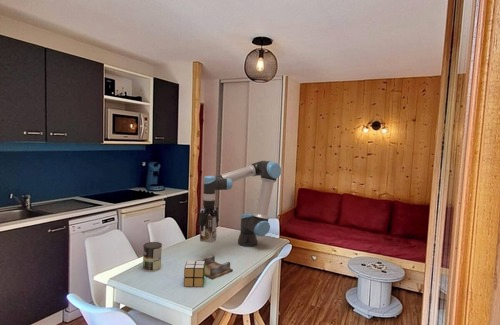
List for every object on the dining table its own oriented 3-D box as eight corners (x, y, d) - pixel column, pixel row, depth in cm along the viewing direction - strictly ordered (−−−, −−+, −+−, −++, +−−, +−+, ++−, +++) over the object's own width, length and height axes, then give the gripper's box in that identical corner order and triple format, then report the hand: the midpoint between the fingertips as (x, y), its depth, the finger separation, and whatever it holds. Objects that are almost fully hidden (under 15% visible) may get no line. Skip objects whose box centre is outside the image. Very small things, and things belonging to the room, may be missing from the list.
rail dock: (212, 262, 185) (212, 254, 184) (232, 271, 173) (233, 262, 172) (191, 269, 173) (192, 260, 172) (212, 279, 161) (212, 270, 160)
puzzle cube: (186, 278, 161) (186, 260, 161) (204, 278, 162) (205, 260, 161) (183, 287, 151) (184, 268, 151) (203, 287, 152) (204, 268, 151)
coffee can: (143, 272, 165) (143, 248, 164) (142, 265, 174) (142, 242, 174) (162, 270, 169) (162, 246, 168) (160, 263, 179) (160, 241, 178)
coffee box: (216, 240, 193) (217, 216, 192) (212, 243, 186) (212, 218, 185) (204, 238, 195) (204, 214, 195) (199, 241, 189) (200, 216, 188)
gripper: (217, 197, 200) (216, 229, 201) (192, 200, 184) (191, 236, 185) (224, 198, 195) (223, 232, 196) (200, 202, 179) (199, 239, 180)
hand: (208, 234), depth 191 cm, fingers closed on coffee box, 8 cm apart
